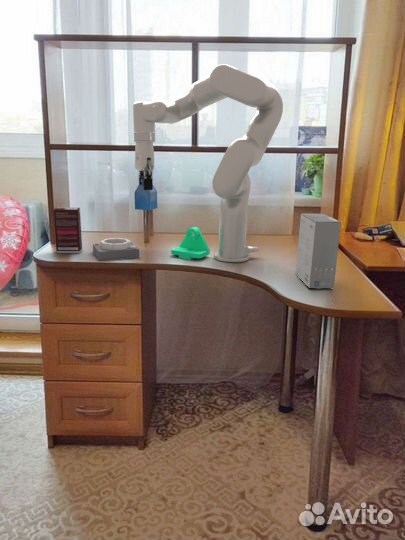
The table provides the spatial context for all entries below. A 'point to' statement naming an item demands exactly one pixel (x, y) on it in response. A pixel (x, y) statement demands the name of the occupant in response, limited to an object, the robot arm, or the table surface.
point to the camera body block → (115, 249)
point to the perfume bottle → (145, 197)
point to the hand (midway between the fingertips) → (145, 188)
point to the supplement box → (67, 230)
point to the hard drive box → (318, 250)
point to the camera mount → (192, 245)
